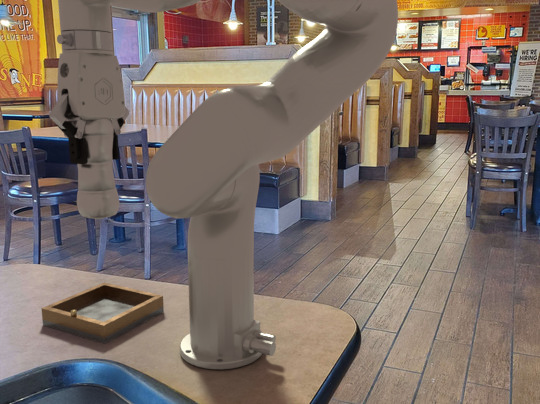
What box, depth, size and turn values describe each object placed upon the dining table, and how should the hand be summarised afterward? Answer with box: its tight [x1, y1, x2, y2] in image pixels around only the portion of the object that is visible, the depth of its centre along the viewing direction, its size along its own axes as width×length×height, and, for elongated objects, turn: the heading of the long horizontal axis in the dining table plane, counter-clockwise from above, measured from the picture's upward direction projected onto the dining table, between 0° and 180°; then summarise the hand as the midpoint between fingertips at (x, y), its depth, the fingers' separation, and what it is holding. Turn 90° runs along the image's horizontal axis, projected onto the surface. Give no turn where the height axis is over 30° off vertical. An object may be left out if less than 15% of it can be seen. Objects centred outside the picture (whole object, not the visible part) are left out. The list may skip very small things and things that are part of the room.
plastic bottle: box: [74, 115, 120, 220], centre depth 86 cm, size 6×7×20 cm
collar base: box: [41, 282, 164, 345], centre depth 91 cm, size 14×14×4 cm
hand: (95, 160), depth 86 cm, fingers closed on plastic bottle, 6 cm apart
